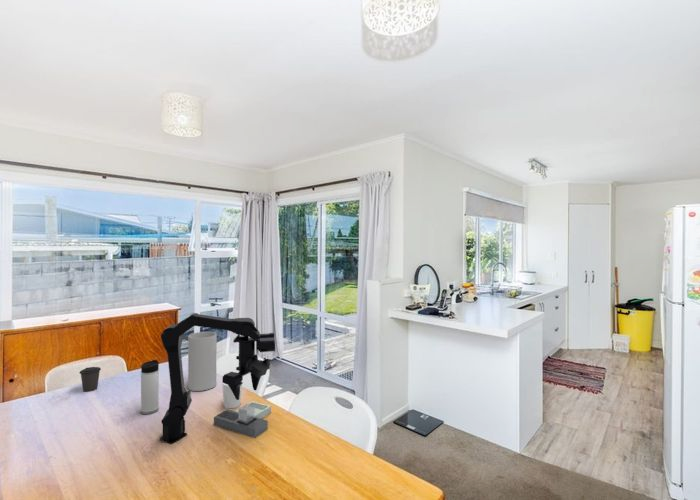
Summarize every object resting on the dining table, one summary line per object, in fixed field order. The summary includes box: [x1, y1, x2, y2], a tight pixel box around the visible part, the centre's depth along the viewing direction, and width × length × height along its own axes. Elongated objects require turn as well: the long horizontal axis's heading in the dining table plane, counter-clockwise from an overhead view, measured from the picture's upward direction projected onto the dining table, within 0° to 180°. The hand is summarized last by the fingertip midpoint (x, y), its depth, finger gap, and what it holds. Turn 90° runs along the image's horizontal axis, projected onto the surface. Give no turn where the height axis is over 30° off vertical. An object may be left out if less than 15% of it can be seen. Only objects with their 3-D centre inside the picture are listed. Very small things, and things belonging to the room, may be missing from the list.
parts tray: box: [235, 400, 272, 419], centre depth 138 cm, size 10×10×3 cm
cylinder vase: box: [187, 331, 218, 392], centre depth 166 cm, size 12×12×25 cm
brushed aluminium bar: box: [238, 403, 255, 426], centre depth 128 cm, size 4×4×8 cm
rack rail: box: [213, 408, 269, 439], centre depth 129 cm, size 7×20×3 cm, turn 64°
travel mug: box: [140, 359, 160, 415], centre depth 141 cm, size 6×7×20 cm
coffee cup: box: [78, 366, 102, 393], centre depth 162 cm, size 8×8×10 cm
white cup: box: [222, 383, 243, 409], centre depth 147 cm, size 8×8×10 cm
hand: (246, 394), depth 128 cm, fingers open, 9 cm apart
